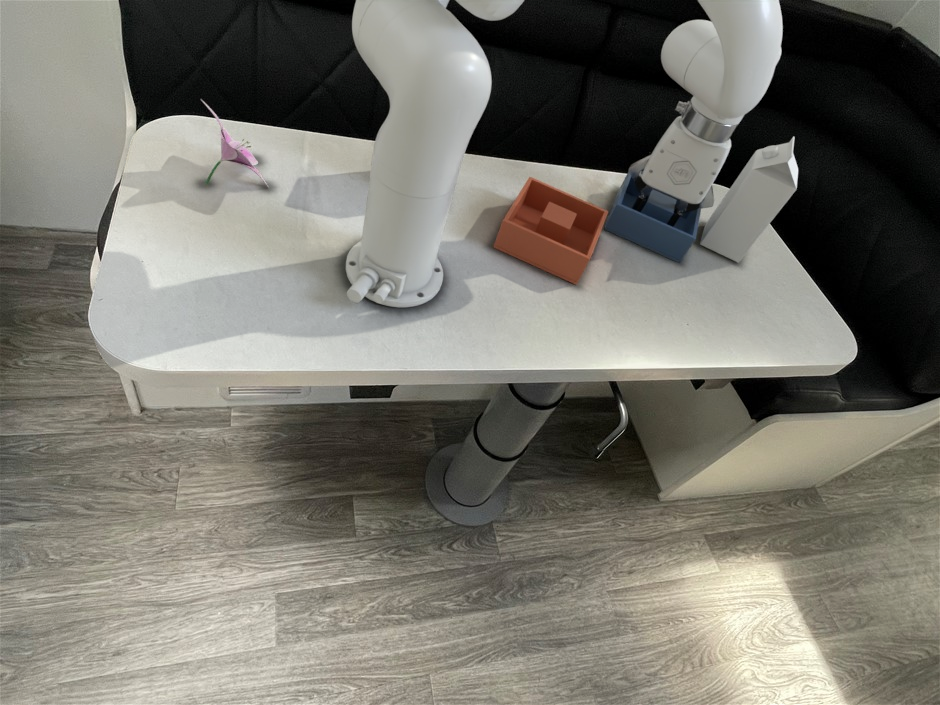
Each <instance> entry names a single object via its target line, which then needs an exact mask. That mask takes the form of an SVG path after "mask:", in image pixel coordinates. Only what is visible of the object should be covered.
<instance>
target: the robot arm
mask: <svg viewBox="0 0 940 705" xmlns="http://www.w3.org/2000/svg"><path fill="white" fill-rule="evenodd" d="M454 1H455V2H457V4H459V5H460V6H461V7H462V8H464V9H465V10H466V11H467V12H469V13H470V14H472V15H473V16H475V17H477V18H479V19H481V20H484V21H489V22H490V21H491V22H493V21H502V20H504V19H506V18H508V17H510V16H511V15H513V14H514V13H515V12H516V11H517V10H518V9H519V8H520V6H521V5H523V3H524V2H525V0H454ZM449 2H450V0H355V3H354V6H353V12H352V19H351V32H352V39H353V42H354V45H355V48H356V50H357V52H358V54H359V55H360V57H361V60H363V61H364V63H365V64H366V66H367V67H368V68H369V70H370V71H371V73H372V74H373V75H374V77H375V78H376V79H377V81H378V82H379V84H380V86H381V87H382V88H383V90H384V91H385V92H386V94H387V96H388V100H389V110H388V114H387V116H386V118H385V120H384V121H383V122H382V124H381V126H380V127H379V130H378V132H377V134H376V136H375V140H374V145H373V150H372V155H371V156H372V157H371V164H370V166H371V167H370V173H369V180H368V181H369V183H368V189H367V195H366V196H367V197H366V205H365V210H364V211H365V212H364V219H363V226H362V232H361V233H362V234H361V240H359V241H358V242H356V243H355V244H354V245H353V246H352V247H351V249H350V250H349V252H348V253H347V255H346V261H345V272H346V277H347V279H348V282H350V284H351V286H350V287H349V288H348V290H347V291H346V296H347V298H348V299H349V300H350V301H351V302H353V303H355V304H356V303H360V302H362V301H363V299H364V298H366V299H368V300H370V301H372V302H374V303H376V304H379V305H383V306H386V307H391V308H413V307H417V306H420V305H423V304H425V303H428V302H429V301H431V300H432V299H433V298H434V297H435V296H436V295H438V293H439V291H440V290H441V287H442V284H443V281H444V269H443V266H442V263H441V261H440V260H439V258H438V253H439V249H440V246H441V242H442V239H443V235H444V231H445V227H446V223H447V219H448V217H449V216H448V215H449V213H450V208H451V204H452V201H453V197H454V194H455V190H456V186H457V181H458V178H459V174H460V170H461V166H462V162H463V160H464V157H465V154H466V150H467V148H468V145H469V143H470V140H471V138H472V135H473V134H474V131H475V129H476V128H477V125H478V123H479V121H480V120H481V118H482V116H483V114H484V112H485V110H486V108H487V106H488V103H489V101H490V96H491V92H492V83H493V80H492V71H491V67H490V63H489V60H488V58H487V55H486V54H485V52H484V50H483V48H482V46H481V45H480V43H479V42H478V40H477V39H476V38H475V36H474V35H473V34H472V33H471V32H470V31H469V30H468V29H467V28H466V27H465V26H464V25H463V23H462V22H460V21H459V19H457V17H456V16H455V15H454V14H453V13H452V12H451V11H450V10H448V9H447V7H448V4H449ZM697 2H698V3H699V5H700V6H701V8H702V9H703V11H704V12H705V13H706V15H707V17H708V18H709V20H706V19H692V20H688V21H686V22H683V23H682V24H680V25H678V26H677V27H676V28H674V29H673V30H672V31H671V32H670V34H668V36H667V37H666V38H665V40H664V42H663V44H662V48H661V53H660V61H661V65H662V67H663V70H664V71H665V73H666V74H667V75H668V76H669V77H670V78H671V79H672V80H673V81H674V82H675V83H677V84H678V85H679V86H680V87H681V88H683V90H685V91H686V92H688V93H689V94H691V95H692V97H691V98H690V100H687V102H685V101H684V102H683V101H680V100H679V101H678V102H677V104H676V105H675V108H674V111H676V112H678V113H679V114H680V115H679V116H677V117H676V118H675V119H674V120H673V121H672V123H671V124H670V125H669V126H668V128H667V129H666V131H665V132H664V134H662V136H661V138H660V139H659V141H658V142H657V144H656V146H655V147H654V149H653V150H652V152H651V154H649V155H647V156H645V157H643V158H642V159H639V160H637V161H635V162H633V163H631V164H630V165H629V167H628V170H627V171H628V172H629V173H630V175H631V176H632V178H633V179H634V181H635V185H636V187H637V190H638V193H639V196H638V198H637V200H636V201H635V203H634V205H633V207H632V209H633V210H636V211H638V212H640V213H641V211H642V209H643V207H644V206H645V204H646V202H647V199H648V196H649V193H650V192H651V191H652V190H653V189H654V188H655V189H657V190H659V191H661V192H664V193H666V194H668V195H670V196H673V197H675V198H677V199H680V203H678V204H676V205H675V208H674V213H673V215H672V216H671V218H670V220H669V221H668V223H667V225H670V226H672V227H674V225H675V224H676V222H677V220H678V219H679V217H680V216H682V215H684V214H685V213H687V212H691V211H694V210H697V209H699V208H701V210H702V209H708V208H709V209H710V208H712V207H714V204H715V196H714V189H713V188H714V187H713V184H714V182H715V181H716V179H717V177H718V175H719V173H720V172H721V169H722V168H723V166H724V164H725V163H726V160H727V157H728V156H729V153H730V150H731V148H732V140H731V137H732V135H733V133H734V132H735V131H736V129H737V127H738V126H739V124H741V123H740V122H741V121H742V120H743V118H744V117H745V115H747V114H748V113H749V112H750V111H752V110H753V109H754V108H755V107H756V106H757V105H758V104H759V103H760V101H761V100H762V98H763V97H764V96H765V94H766V93H767V90H768V88H769V86H770V84H771V82H772V80H773V77H774V74H775V70H776V66H777V65H778V63H779V62H780V60H781V56H782V41H783V32H784V30H783V29H784V25H783V15H782V10H781V9H782V8H781V5H780V4H781V3H780V0H697ZM641 171H643V174H641Z"/></svg>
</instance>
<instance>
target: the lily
mask: <svg viewBox="0 0 940 705" xmlns="http://www.w3.org/2000/svg"><path fill="white" fill-rule="evenodd" d="M201 102H202V103H203V105H204V106H205V107H206V108H207V109H208V110H209V112H210V113H211V114H212V115H213V117H214V118H215V119H216V121H217V122H218V124H219V126H220V131H218V132H217V133H218V136H219V137H220V158H219V160H218V161H217V163H216V164H215V165H214V167H213V168H212V169H211V171H210V173H209V175H208V177H207V179H206V181H205V184H206V185H209V184H210V180H211V178H212V177H213V175H214V173H215V171H216V169H217V168H218V167H219V166H220V164H221V163H223V162H225V161H226V162H230V163H235V164H238V165H242V166H244V167H246V168H248V169H250V170H251V171H253V172H254V173H255V175H257V176H258V177H259V178H260V179H261V180H262V182H263V183H264V184H265V185H266V186H267V187H269V185H268V183H267V182H266V181H265V179H264V177H263V174H262V172H261V171H260V170H259V169H258V168H256V167H255V166H256V165H258V164H259V162H258V160H257V159H256V157H255V156H254V154H253V152H251V151H250V150H249V149H248V146H246V145H248V144H250V142H249V141H246V142H244V141H245V138H244V139H242V141H238V140H234V138H233V137H232V136H231V134H230V133H229V132H228V130H227V129H226V128H225V127H224V126H223V123H222V122H221V120H220V117H219V116H218V115H217V114H216V113H215V111H214V110H213V109H212V108H211V107H210V106H209V105H208V104H207V103H206V102H205V101H204V100H203V99H201ZM243 142H244V143H243Z"/></svg>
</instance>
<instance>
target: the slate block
mask: <svg viewBox="0 0 940 705" xmlns="http://www.w3.org/2000/svg"><path fill="white" fill-rule="evenodd" d="M675 204H676V199H674V198H671V197H669V196H667V195H665V194H662V193H660V192H658V191H655V190H652V191H651V192H650V193H649V196H648V199H647V202H646V204H645V206H644V207H643V209H642V211H641V213H642V214H645V215H647V216H649V217H652V218H654V219H656V220H658V221H661V222H663V223H665V224H667V223H668V221H669V220H670V218H671V216H672V215H673V213H674V208H675Z"/></svg>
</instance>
